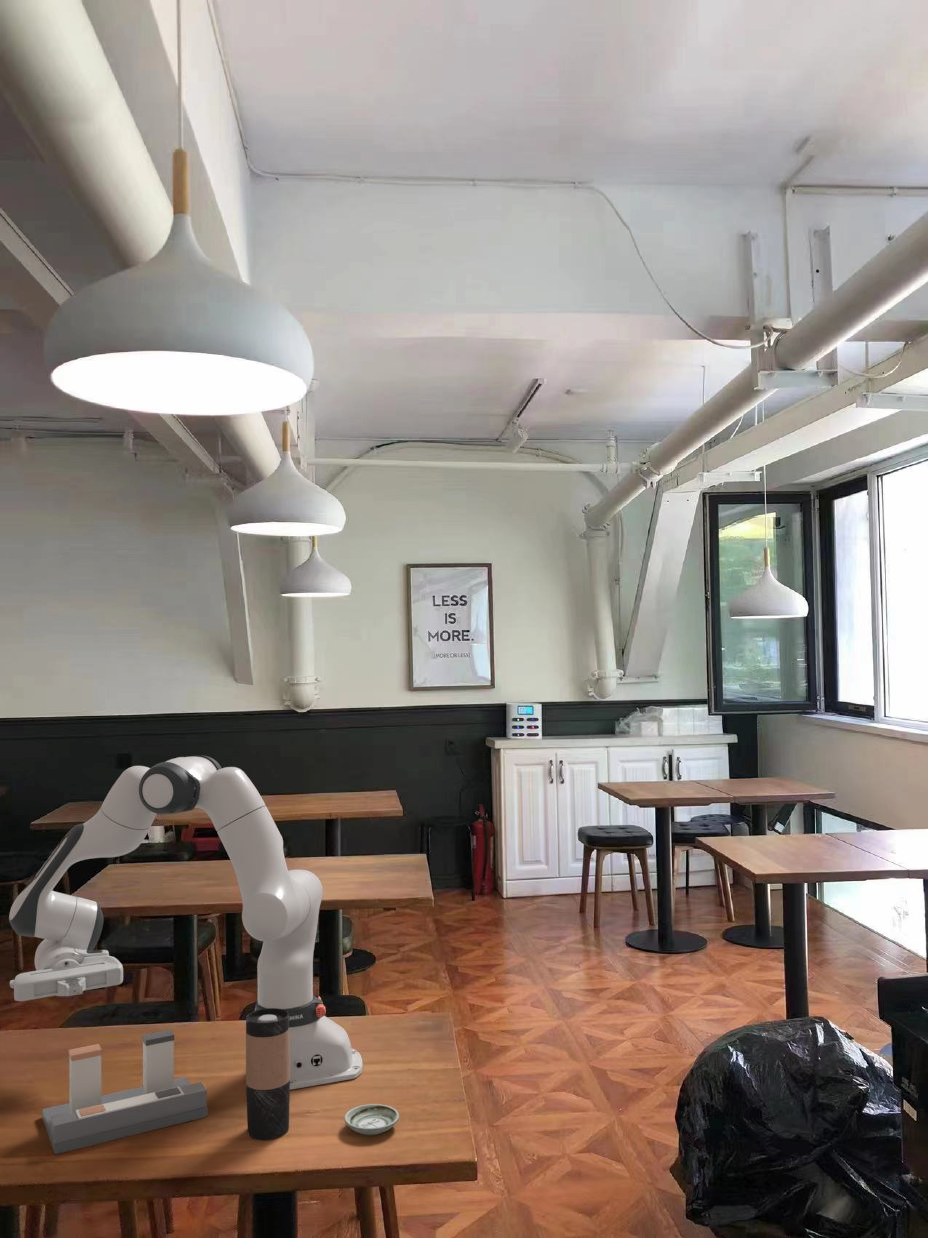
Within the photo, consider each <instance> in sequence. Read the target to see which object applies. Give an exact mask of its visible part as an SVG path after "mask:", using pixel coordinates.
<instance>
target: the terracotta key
mask: <svg viewBox="0 0 928 1238" xmlns="http://www.w3.org/2000/svg"><path fill="white" fill-rule="evenodd" d="M102 1055H103V1049H102V1047H101V1046H100V1043H96V1044H91V1045H86V1046H80V1047H75V1048H71V1049H68V1057H69V1058H68V1059H69V1061H68V1062H69V1067H68V1068H69V1070H68V1071H69V1072H68V1073H69V1074H68V1076H69V1080H68V1081H69V1083H68V1085H69V1093H68V1094H69V1098H68V1099H69V1101H68V1103H69V1112H74V1111H76V1110H79V1109H84V1108H88V1107H92V1106H97V1105H101V1096H102Z"/></svg>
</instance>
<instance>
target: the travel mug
mask: <svg viewBox="0 0 928 1238" xmlns="http://www.w3.org/2000/svg"><path fill="white" fill-rule="evenodd" d="M245 1093H246V1097H245V1098H246V1117H247V1118H246V1119H247V1120H246V1121H247V1134H248V1136H249V1137H250V1138H252V1139H255V1140H257V1141H271V1140H275V1139H278V1138H280V1137H283V1136H285V1134H287V1133H288V1131H289V1129H290V1103H291V1102H290V1095H291V1090H290V1053H289V1014H288V1012H287V1011H285V1010H283V1009H277V1008H268V1009H261V1010H257V1011H255V1010H254V1011H252V1012H249V1013H248V1014H247V1015H246V1017H245Z"/></svg>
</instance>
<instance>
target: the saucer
mask: <svg viewBox="0 0 928 1238" xmlns="http://www.w3.org/2000/svg"><path fill="white" fill-rule="evenodd" d="M343 1119H344V1123H345V1124H346V1126H348V1127H349V1128H350V1129H351V1130H352V1131H354V1132H356V1133H359V1134H360V1135H363V1136H377V1135H380V1134H382V1133H385V1132H386V1131H389V1130H391V1129H392V1128H393V1126H395V1125H396V1124H397V1123H398V1122H399V1119H400V1114H399V1112H398V1110H397V1109H396V1108H395V1107H392V1106H391V1105H386V1104H380V1103H368V1104H364V1105H362V1104H361V1105H358V1106H356V1107H353V1108H351V1109H349V1110H348V1111H347V1112H346V1113H345V1115H344V1118H343Z"/></svg>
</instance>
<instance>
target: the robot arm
mask: <svg viewBox="0 0 928 1238" xmlns="http://www.w3.org/2000/svg"><path fill="white" fill-rule="evenodd" d="M194 809H201V810H203V811H204V812H205V813H206V814H207V816H208V818H210V821H211V823H212V825H213V826H214V829H215V831H216V832H217V835H218V838H219V839H220V841H221V843H222V845H223V847H224V849H225V851H226V853H227V855H228V857H229V859H230V862H231V865H232V867H233V868H234V873H235V875H236V880H237V884H238V889H239V891H240V896H241V901H242V912H241V920H242V925H243V926H244V927H243V928H244V929H245V931H246V932H247V934H248V935H250V936H251V937H252V938H253V939H255V940H258V941H261V942H263V943H262V947H261V951H260V954H259V956H258V959H257V964H256V965H257V966H256V968H257V969H256V970H257V971H256V972H257V999H256V1001H255V1008H254V1011H257V1010H261V1009H268V1008H277V1009H283V1010H285V1011H287V1012H288V1014H289V1053H290V1091H291V1090H295V1089H297V1090H298V1089H301V1088H306V1087H307V1088H308V1087H313V1086H319V1085H320V1086H321V1085H325V1084H331V1083H336V1082H341V1081H347V1080H354V1079H357V1078H358V1077H359V1076H360V1075H361V1073H362V1072H363V1069H364V1065H363V1058H362V1056H361V1054H360V1052H359V1051H358V1050H356V1049H354V1048H352V1044H351V1040H350V1038H349V1035H348V1033H347V1031H346V1030H345V1029H344V1027H342V1026H341V1025H339V1024H338V1023H336V1022H335V1021H333V1020H332V1019H330V1018H328V1017H327V1016H326V1012H327V1010H326V1006H325V1005H324V1002H323V1000H322V998H321V997H320V996H319V995H318V996H316V995H314V981H313V979H314V977H313V976H314V971H313V970H314V966H313V965H314V963H313V962H314V951H315V944H316V937H317V931H318V924H319V923H318V922H319V914H320V907H321V903H322V901H323V897H324V896H323V895H324V889H323V884H322V882H321V881H320V878H319V877H318V876H317V875H316V874H314V872H311V871H309V870H307V869H299V868H297V869H290V870H289V869H288V865H287V863H286V862H287V861H286V858H285V853H284V840H283V836H282V835H281V833H280V831H279V829H278V827H277V824H276V823H275V820H274V819H273V816H272V815H271V813H270V810H269V808H268V806H266V803H265V801H264V799H263V798H262V796H261V795H260V793H259V791H258V789H257V788H256V786H255V785H254V783H253V782H252V780H251V779H250V778H249V777H248V775H247V774H246V772H245V771H243V770H242V769H241V768H239V767H236V766H228V767H227V766H226V767H223V768H222V766H221V765H220V763H219V762H218V761H217V760H215V759H214V758H213V757H210V756H208V755H203V754H202V755H201V754H196V755H194V754H193V755H191V756H185V757H184V756H178V757H176V758H171V759H168V760H166V761H164V762H163V761H161V762H159V763H156V764H155V765H153V766H151V767H148V766H144V765H133V766H131V767H128V768H127V769H125V770H124V771H122V773H121V774H120V776H119V777H118V778H117V780H116V781H115V782H114V784H113V785H112V787H111V788H110V790H109V791H108V793H107V795H106V797H105V798H104V801H103V802H102V804H101V806H100V808H99V810H98V811H97V812H96V813H95V814H94V815H92V817H91V818H90V819H89V820H87V821H85V822H84V823H80V824H76V825H74V826H73V827H72V828H71V829H70V830H69V831H67V833H66V834H65V836H63V838H62V839H61V840H60V841H59V843H58V844H57V846H56V847H55V848H54V849H53V851H52V852H51V853H50V855H49V857H48V858H47V859H46V861H45V862H44V863H43V864H42V866H41V867H40V869H39V870H38V871H37V873H36V874H35V876H34V877H33V878H32V879H31V881H30V882H29V883H28V884H27V885H25V887H24V888H23V890H22V891H21V892H20V893H19V894H18V895H17V897H16V898H15V899H14V902H13V903H12V906H11V907H10V911H9V916H8V922H9V924H10V926H11V928H12V929H13V930H14V932H15V933H16V935H17V936H21V937H27V938H39V939H43V940H42V941H41V942H39V943H40V944H38V946H37V948H36V950H35V955H34V966H35V970H32V971H27V972H21V973H19V974H17V975H16V976H15V977H14V979H12V980H11V979H10V981H9V986H10V988H11V989H13V998H14V1001H17V1002H25V1001H31V1000H36V999H43V998H48V997H55V996H56V997H72V996H76V995H83V993H84V991H89V990H94V989H95V990H96V989H100V988H101V989H102V988H106V987H112V986H118V985H121V984H122V983H123V982H124V967H123V964H122V963H121V962H120V960H119V959H118V958H116V957H115V956H111V955H110V953H109V950H107V949H95V947H96V945H97V944H98V942H99V940H100V937H101V934H102V932H103V927H104V926H103V925H104V914H103V910H102V909H101V906H100V904H99V903H98V902H97V901H96V900H95V901H94V900H92V899H91V900H90V899H87V898H84V897H80V896H76V895H75V896H74V895H71V894H67V893H63V892H58V891H55V890H54V888H55V887H56V886H57V884H58V883H59V881H60V880H61V878H62V877H63V876H64V874H65V873H67V871H68V869H69V868H70V867H71V866H72V865H74V864H76V863H78V862H80V861H81V862H82V861H85V860H89V859H99V858H101V859H102V858H116V857H121V856H124V855H127V854H130V853H131V852H133V851H135V850H136V849H138V848H139V846H140V845H141V844H142V842H143V841H144V839H145V838H146V836H147V835H148V832H149V830H150V829H151V826H152V824H153V822H154V820H155V819H156V816H157V814H158V815H166V816H167V815H176V814H181V813H185V812H191V811H194ZM94 949H95V950H94Z"/></svg>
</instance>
